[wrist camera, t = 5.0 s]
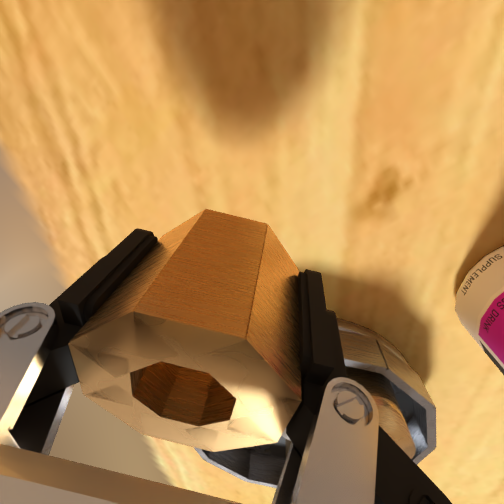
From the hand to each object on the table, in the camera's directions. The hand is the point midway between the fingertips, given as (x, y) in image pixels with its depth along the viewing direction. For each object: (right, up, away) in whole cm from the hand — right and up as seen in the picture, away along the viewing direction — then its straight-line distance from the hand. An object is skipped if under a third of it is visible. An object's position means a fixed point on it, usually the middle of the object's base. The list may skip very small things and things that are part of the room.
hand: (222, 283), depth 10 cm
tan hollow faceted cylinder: (0, 0, 0) cm, 1 cm away
